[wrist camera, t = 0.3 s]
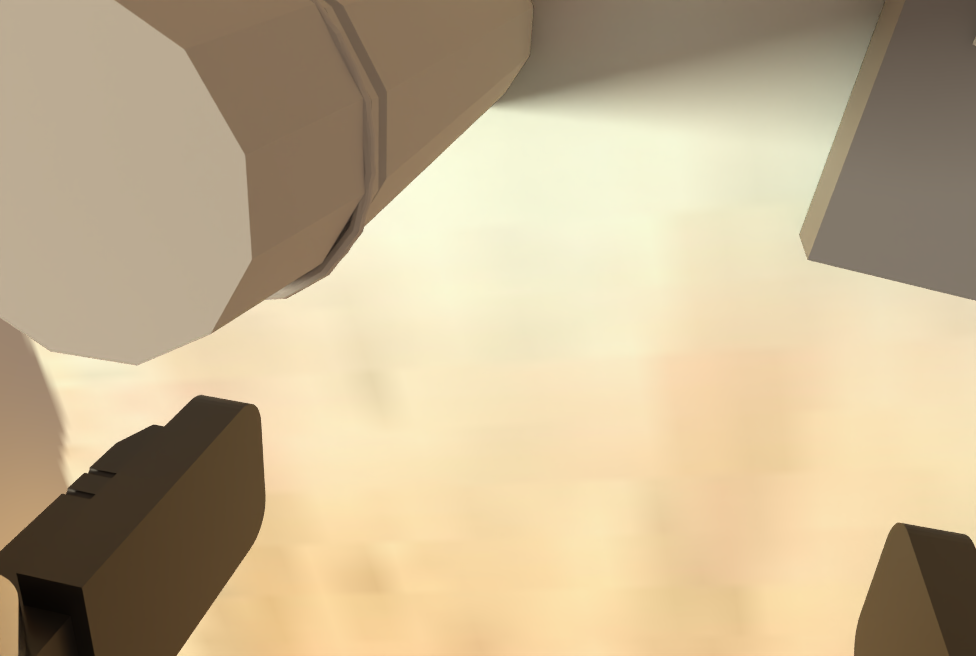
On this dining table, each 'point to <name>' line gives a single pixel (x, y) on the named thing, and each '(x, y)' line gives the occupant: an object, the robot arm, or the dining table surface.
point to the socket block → (906, 155)
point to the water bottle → (217, 150)
